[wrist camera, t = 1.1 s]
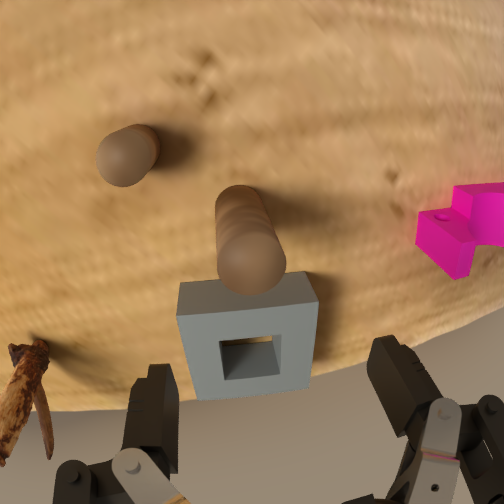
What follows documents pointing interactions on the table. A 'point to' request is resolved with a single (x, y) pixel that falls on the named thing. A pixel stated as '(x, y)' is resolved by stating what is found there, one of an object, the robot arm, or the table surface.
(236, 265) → the tall walnut pin
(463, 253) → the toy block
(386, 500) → the robot arm
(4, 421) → the lashed bone hook
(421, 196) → the table surface
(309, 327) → the slate block
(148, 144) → the short walnut pin
